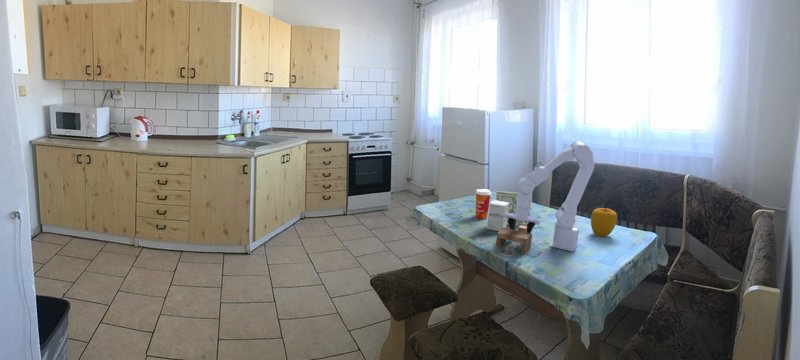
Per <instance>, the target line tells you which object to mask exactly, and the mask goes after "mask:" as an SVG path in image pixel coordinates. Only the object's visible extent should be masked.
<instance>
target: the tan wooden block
mask: <svg viewBox="0 0 800 360" xmlns="http://www.w3.org/2000/svg"><path fill="white" fill-rule="evenodd" d="M517 228H518V229H517V231H522V232H526V233H527V225H526V226H525V225H519V226H518V227H517ZM521 246H522V243H519V242H515V241H512V242H511V243H510V244H509V245H508V246H507V247H506V248H505V249H506V250H510V251H515V252H516V250H518V249H519V248H520V247H521Z"/></svg>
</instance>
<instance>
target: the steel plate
mask: <svg viewBox="0 0 800 360" xmlns="http://www.w3.org/2000/svg"><path fill="white" fill-rule="evenodd" d="M498 254H499V255H501V256H503V257H504V256H505V257H508V258H509V257H510V258H512V257H513V256H514V255H515V254H516V250H515V251H510V250H506V248H502V250H500V251H499V252H498Z"/></svg>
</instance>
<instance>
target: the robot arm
mask: <svg viewBox="0 0 800 360" xmlns="http://www.w3.org/2000/svg"><path fill="white" fill-rule="evenodd" d="M593 154H594V153H593V151H592V150H591V147H589V146H588V145H587V144H585V143H584V142H581V141H574V142H572V143H571V144H570V145H568V146H566V147H565V148H563V150H562V151H560V152H559V153H558V154H557V155H556V156H555V157H553V158H552V159H551V160H550V161H549V162H547V163H546V164H545V165H544V166H543V165H540V166H538V167H537V166H535V167H534V168H533V169H534V170H533V171H531V172H530V173H529V174H525V176H524V177H522V178H520V180H518V183H517V187H518V191H517V197H516V206H515V208H516V209H515V213H511V212H508V213H506V214H505V218H507V224H508V226H509V229H512V230H516V225H517V221H520V222H525V223H526V227H527V233H531V234H532V231H533V229H534V227H535V226H539V225H540V224H541V219H539V218H535V217H532V216H530V214H531V205H532V198H533V197H532V194H533V192H534V189H535V188H536V187H537V186H538V185H540V184H541V183H542V182H544V181H545V180H546V179H548V178H549V176H550V173H551V172H552V171H554V170H555V169H556V168H558V167H559V166H561V165H562V164H564V162H568V161H575V160H576V162H577V164H578V165H579V169H578V171H577V173H576V176H575V178H574V180H573V182H572V184H571V187H570V190H569V192H568V194H567V196H566V199H565V201H564V202H563V203H562V204H561V206H560V207H559V209H557V210H556V212H555V218H556V219H557V221H556V222H555V223H554V232H553V239H552V242H551V243H550V244H549V246H550V247H552V248H556V249H560V250H565V251H570V252H574V251H575V250H576V248H577V246H578V238H579V233H580V230H579V228H576V227H574V226H575V225H576V217H577V216H576V215H577V209H578V205H579V204H580V202H581V199H582V197H583V194H584V192H585V190H586V187H587V185H588V183H589V182H590V178H591V177H592V175H593V172H594V169H595V163H594V162H595V161H594V157H593Z"/></svg>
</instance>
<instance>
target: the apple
mask: <svg viewBox="0 0 800 360" xmlns="http://www.w3.org/2000/svg"><path fill="white" fill-rule="evenodd" d="M617 221H618V213H617V212H616V211H614V210H612V209H611V208H607V207H605V208H604V207H597V208H595V209H594V210H593V211H592V213H591V216H590V226H591V230H592V233H593V235H595V236H597V237H601V238H603V237H604V238H605V237H608V236H609V235H610V234H611V233H612V232H613V231H614V229H615V227H616V226H617Z"/></svg>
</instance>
